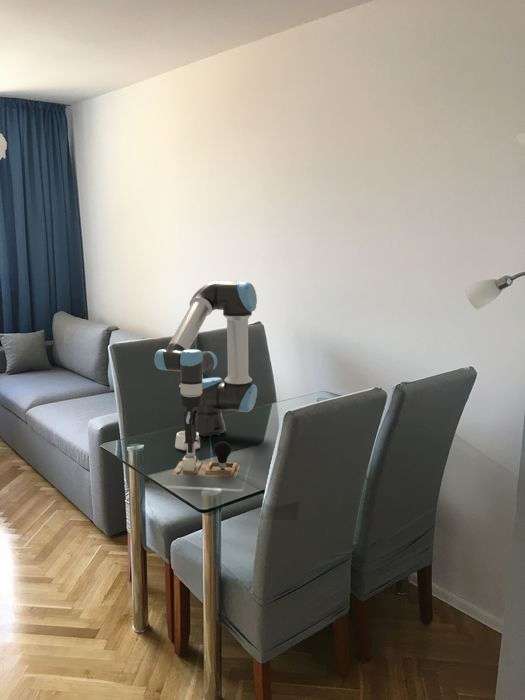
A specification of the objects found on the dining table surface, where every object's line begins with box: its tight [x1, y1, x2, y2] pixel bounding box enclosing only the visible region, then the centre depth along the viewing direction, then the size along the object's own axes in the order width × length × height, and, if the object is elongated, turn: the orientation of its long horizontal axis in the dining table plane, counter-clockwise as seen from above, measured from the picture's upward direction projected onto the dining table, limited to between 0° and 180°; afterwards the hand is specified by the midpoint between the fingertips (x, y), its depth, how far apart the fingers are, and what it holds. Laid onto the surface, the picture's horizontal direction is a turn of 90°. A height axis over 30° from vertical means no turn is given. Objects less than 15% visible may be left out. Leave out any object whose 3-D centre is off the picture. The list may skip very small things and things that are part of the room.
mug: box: [174, 430, 201, 451], centre depth 231 cm, size 12×10×6 cm
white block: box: [182, 454, 197, 471], centre depth 206 cm, size 4×4×5 cm
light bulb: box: [213, 440, 232, 470], centre depth 206 cm, size 6×6×10 cm
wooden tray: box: [170, 460, 241, 478], centre depth 207 cm, size 14×22×2 cm, turn 86°
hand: (190, 460), depth 209 cm, fingers closed
